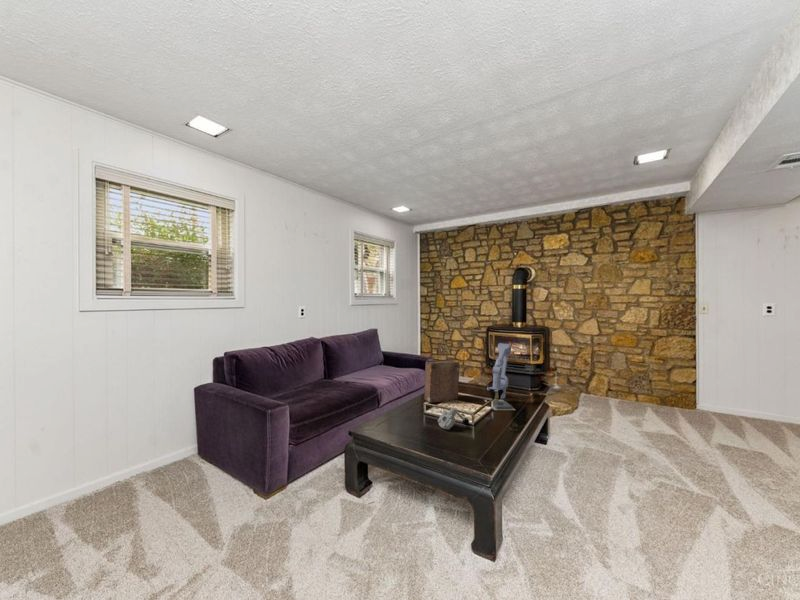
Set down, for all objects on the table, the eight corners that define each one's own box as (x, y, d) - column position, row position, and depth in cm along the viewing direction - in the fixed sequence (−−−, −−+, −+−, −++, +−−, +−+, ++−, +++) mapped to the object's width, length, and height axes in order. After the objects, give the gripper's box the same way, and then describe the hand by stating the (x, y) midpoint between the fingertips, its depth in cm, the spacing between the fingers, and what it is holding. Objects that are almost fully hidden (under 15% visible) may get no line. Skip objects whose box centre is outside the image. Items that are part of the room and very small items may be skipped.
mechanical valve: (434, 421, 211) (449, 402, 214) (450, 435, 218) (464, 416, 221) (443, 429, 202) (458, 409, 205) (460, 443, 209) (474, 423, 212)
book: (451, 396, 271) (453, 359, 270) (458, 399, 263) (459, 361, 262) (424, 399, 261) (425, 361, 260) (429, 403, 252) (431, 363, 251)
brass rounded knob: (492, 401, 261) (492, 390, 261) (497, 401, 261) (497, 390, 261) (494, 402, 257) (494, 392, 257) (499, 402, 257) (499, 392, 257)
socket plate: (483, 400, 263) (483, 397, 263) (503, 400, 265) (503, 397, 265) (494, 411, 241) (494, 407, 241) (515, 411, 243) (515, 407, 243)
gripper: (489, 383, 254) (488, 401, 254) (508, 383, 255) (507, 401, 256) (486, 380, 261) (485, 398, 261) (504, 380, 262) (503, 398, 263)
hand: (495, 399), depth 259 cm, fingers open, 4 cm apart
